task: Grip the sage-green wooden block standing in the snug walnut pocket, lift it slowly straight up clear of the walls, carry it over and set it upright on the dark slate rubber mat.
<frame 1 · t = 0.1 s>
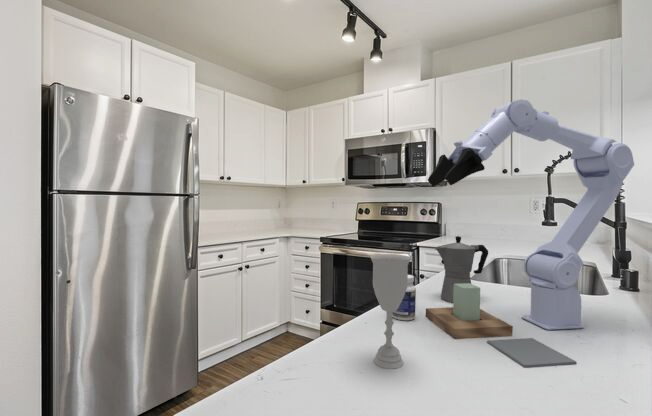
hand: (438, 182, 72), 32 cm above the countertop, tool tilted 50°, fingers open, 7 cm apart
coffeepot: (460, 300, 96), on the countertop
sage block: (466, 305, 75), in the pocket holder
slate mat: (528, 352, 62), on the countertop
pocket holder: (465, 325, 75), on the countertop
chalice: (388, 362, 58), on the countertop
pill bottle: (402, 317, 80), on the countertop
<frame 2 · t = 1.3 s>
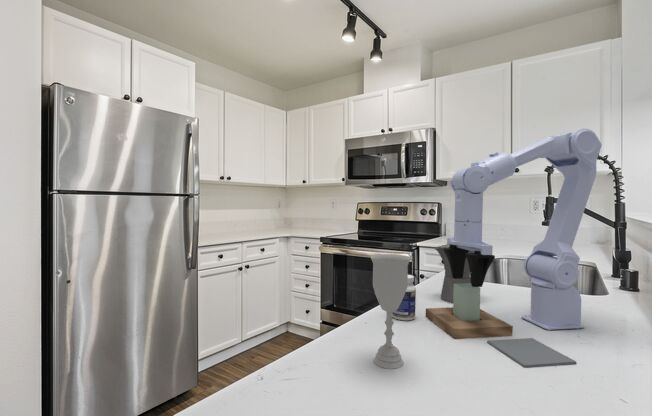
hand: (466, 282, 75), 10 cm above the countertop, tool pointing down, fingers open, 7 cm apart
nothing on the countertop moved.
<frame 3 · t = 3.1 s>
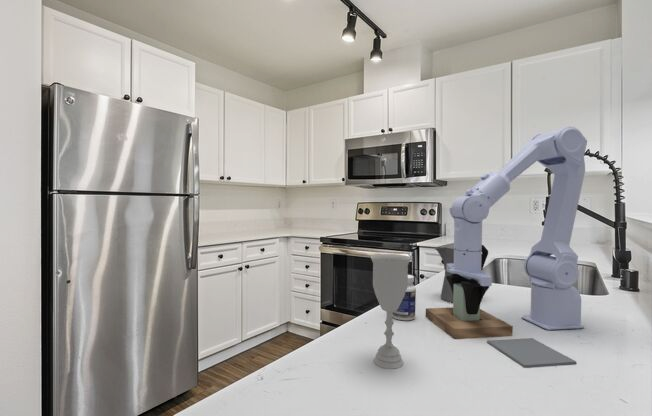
hand: (466, 310, 75), 3 cm above the countertop, tool pointing down, fingers closed on sage block, 4 cm apart
sage block: (466, 305, 75), in the pocket holder, touching gripper
everything else where it was.
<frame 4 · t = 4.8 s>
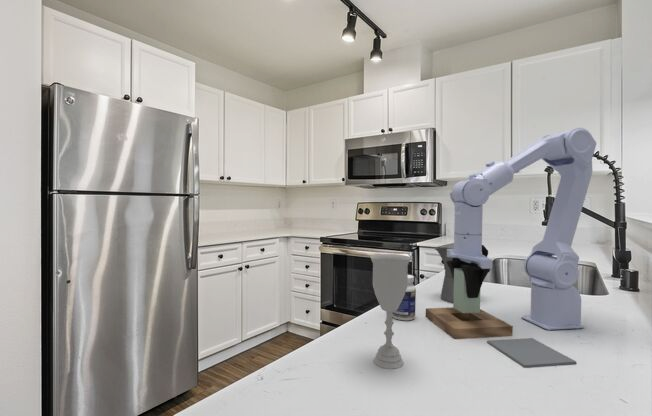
hand: (466, 294, 75), 7 cm above the countertop, tool pointing down, fingers closed on sage block, 4 cm apart
sage block: (466, 289, 75), point 8 cm above the countertop, touching gripper
everything else where it was.
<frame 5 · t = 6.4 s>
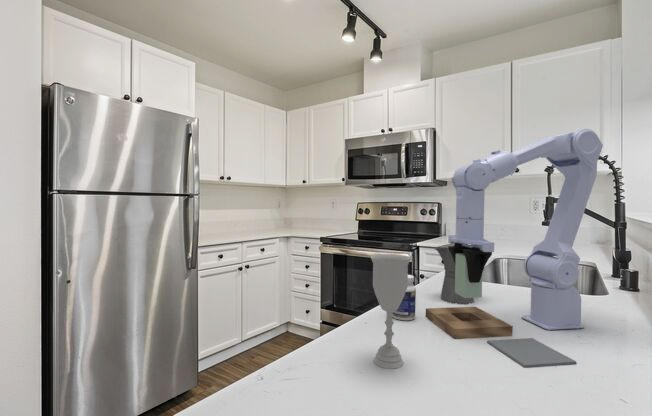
hand: (468, 279, 75), 10 cm above the countertop, tool pointing down, fingers closed on sage block, 4 cm apart
sage block: (468, 275, 75), point 12 cm above the countertop, touching gripper
everything else where it was.
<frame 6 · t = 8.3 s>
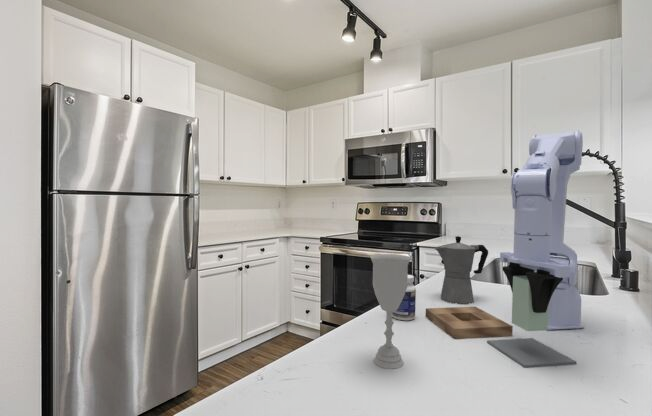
hand: (529, 308, 62), 8 cm above the countertop, tool pointing down, fingers closed on sage block, 4 cm apart
sage block: (529, 302, 62), point 9 cm above the countertop, touching gripper
everything else where it was.
when the fingers open (5 cm above the countertop, at t = 9.8 s): sage block drops 1 cm, resting on slate mat.
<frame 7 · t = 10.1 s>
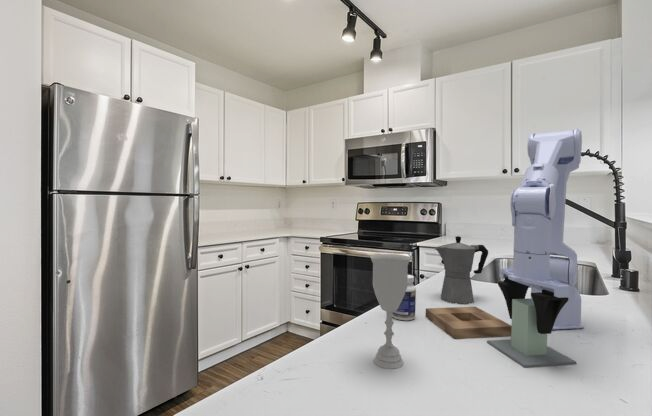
hand: (529, 325, 62), 5 cm above the countertop, tool pointing down, fingers open, 6 cm apart
sage block: (529, 326, 62), on the slate mat
everything else where it was.
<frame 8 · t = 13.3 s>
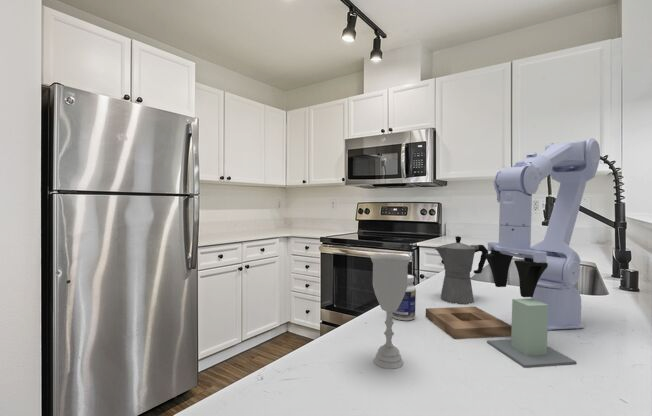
hand: (513, 291, 69), 9 cm above the countertop, tool pointing down, fingers open, 7 cm apart
nothing on the countertop moved.
at the end: sage block 0.0 cm off-centre on the slate mat, point 4.9 cm above the slate mat's base; sage block tilted 0°; the gripper is holding nothing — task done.
